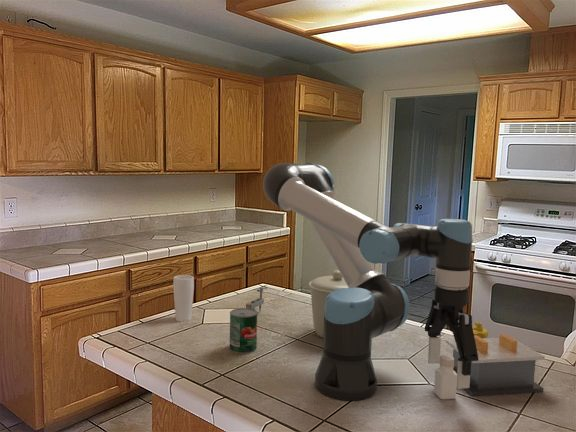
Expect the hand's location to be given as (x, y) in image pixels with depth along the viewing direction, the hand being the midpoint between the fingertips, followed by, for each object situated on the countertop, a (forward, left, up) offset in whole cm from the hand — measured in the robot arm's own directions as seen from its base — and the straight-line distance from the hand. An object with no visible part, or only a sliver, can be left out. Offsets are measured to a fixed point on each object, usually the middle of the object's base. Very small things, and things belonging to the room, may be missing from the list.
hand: (447, 374), depth 112 cm
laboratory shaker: (+16, +6, -5) cm, 18 cm away
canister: (-15, +42, -6) cm, 45 cm away
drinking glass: (-63, +61, -6) cm, 88 cm away
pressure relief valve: (+23, +19, -6) cm, 30 cm away
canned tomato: (-45, +34, -6) cm, 57 cm away
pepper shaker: (0, 0, -6) cm, 6 cm away
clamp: (-38, +63, -6) cm, 74 cm away
